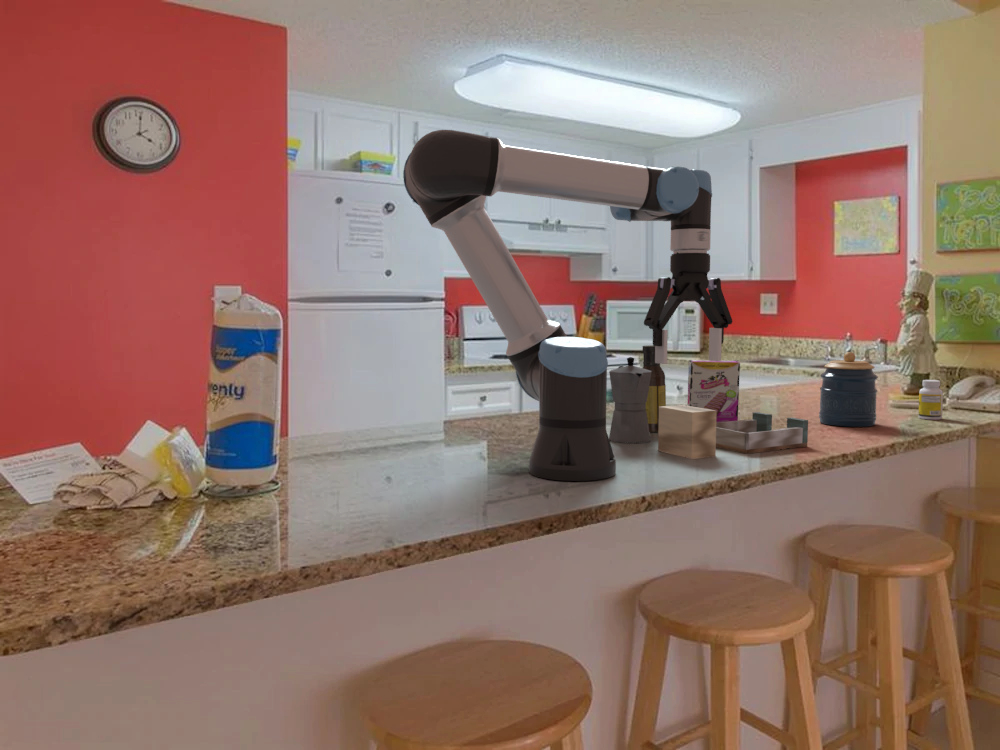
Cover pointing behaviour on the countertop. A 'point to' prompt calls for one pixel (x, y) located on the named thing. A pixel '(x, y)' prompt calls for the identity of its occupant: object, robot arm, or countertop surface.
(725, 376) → the candy bar box
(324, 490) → the countertop surface
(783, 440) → the grey open tray
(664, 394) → the sauce bottle
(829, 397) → the canister
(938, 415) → the supplement bottle
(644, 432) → the coffeepot
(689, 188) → the robot arm
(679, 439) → the tan rectangular block
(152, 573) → the countertop surface
